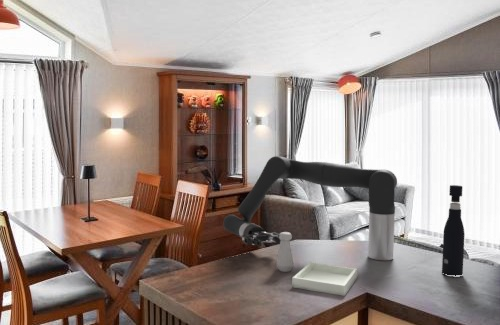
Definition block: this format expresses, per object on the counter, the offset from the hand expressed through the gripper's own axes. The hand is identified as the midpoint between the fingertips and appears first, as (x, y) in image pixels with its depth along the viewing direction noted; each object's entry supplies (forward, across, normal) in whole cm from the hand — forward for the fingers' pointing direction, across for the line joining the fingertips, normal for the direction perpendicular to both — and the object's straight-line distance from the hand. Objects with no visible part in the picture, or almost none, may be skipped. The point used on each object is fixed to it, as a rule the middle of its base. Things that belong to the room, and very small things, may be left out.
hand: (270, 242), depth 164 cm
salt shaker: (+11, 0, +7) cm, 13 cm away
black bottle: (+37, +50, +7) cm, 62 cm away
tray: (+27, +6, +7) cm, 28 cm away
